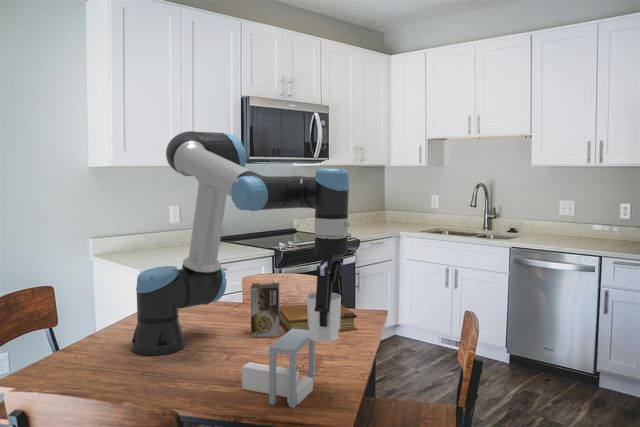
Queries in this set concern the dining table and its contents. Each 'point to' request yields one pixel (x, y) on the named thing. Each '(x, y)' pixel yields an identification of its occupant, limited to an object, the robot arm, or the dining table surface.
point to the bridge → (290, 361)
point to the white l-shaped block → (258, 380)
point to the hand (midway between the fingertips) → (329, 334)
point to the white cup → (314, 316)
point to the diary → (299, 318)
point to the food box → (265, 310)
